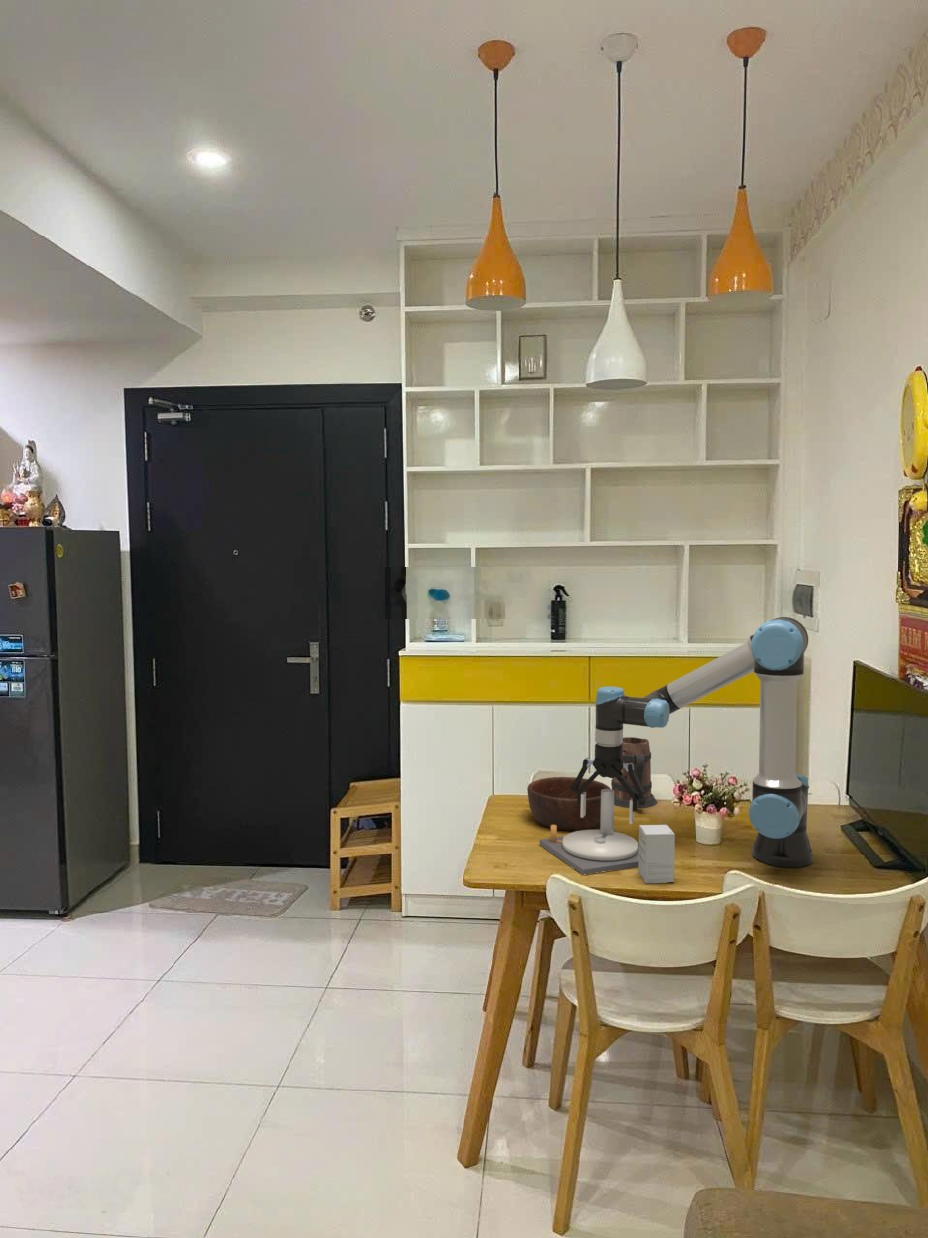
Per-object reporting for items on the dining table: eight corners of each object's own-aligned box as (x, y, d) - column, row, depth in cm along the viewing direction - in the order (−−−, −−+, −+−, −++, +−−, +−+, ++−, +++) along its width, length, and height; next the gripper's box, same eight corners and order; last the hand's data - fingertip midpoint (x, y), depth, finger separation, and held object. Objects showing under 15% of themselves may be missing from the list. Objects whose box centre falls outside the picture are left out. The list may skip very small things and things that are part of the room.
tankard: (600, 793, 295) (601, 734, 293) (650, 793, 296) (652, 734, 294) (614, 815, 272) (615, 751, 270) (668, 815, 272) (670, 751, 271)
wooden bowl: (617, 835, 253) (618, 800, 253) (530, 834, 253) (530, 799, 252) (603, 808, 278) (604, 776, 277) (523, 808, 278) (524, 776, 277)
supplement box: (666, 872, 225) (667, 824, 224) (674, 884, 217) (675, 833, 216) (637, 872, 224) (638, 824, 223) (644, 884, 217) (645, 834, 216)
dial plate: (663, 863, 231) (664, 840, 231) (583, 875, 222) (583, 852, 222) (614, 834, 253) (614, 814, 253) (539, 845, 244) (539, 823, 244)
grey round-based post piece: (629, 865, 225) (630, 813, 223) (553, 854, 232) (554, 803, 231) (644, 841, 243) (645, 792, 242) (573, 831, 251) (574, 784, 249)
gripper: (657, 745, 241) (655, 821, 243) (568, 736, 250) (567, 809, 252) (652, 751, 234) (649, 829, 236) (561, 742, 243) (559, 817, 245)
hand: (607, 819), depth 244 cm, fingers open, 13 cm apart
